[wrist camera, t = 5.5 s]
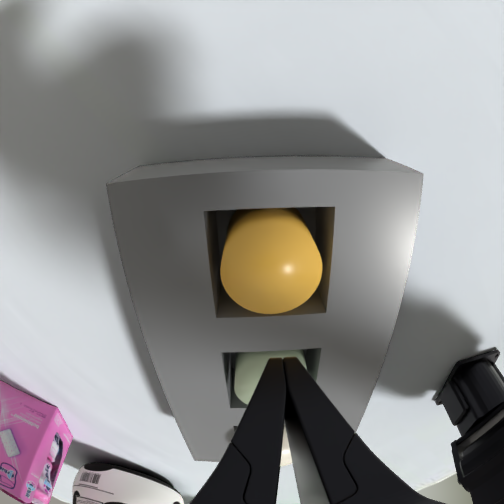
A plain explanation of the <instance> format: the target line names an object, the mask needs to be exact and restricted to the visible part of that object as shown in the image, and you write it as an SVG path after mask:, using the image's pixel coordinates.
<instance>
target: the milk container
mask: <svg viewBox="0 0 504 504" xmlns="http://www.w3.org/2000/svg"><path fill="white" fill-rule="evenodd" d="M72 492H73V504H184V502H183V498H182V496H181V494H180V493H179V492H178V491H177V490H176V489H174V488H173V487H171V486H170V485H169V484H167V483H165V482H162V481H160V480H158V479H156V478H154V477H151V476H148V475H145V474H142V473H140V472H138V471H134V470H130V469H127V468H124V467H120V466H115V465H110V464H106V463H88V464H85V465H84V466H82V467H81V468H80V470H79V471H78V473H77V475H76V477H75V479H74V482H73V491H72Z"/></svg>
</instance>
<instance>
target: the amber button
mask: <svg viewBox="0 0 504 504" xmlns="http://www.w3.org/2000/svg"><path fill="white" fill-rule="evenodd" d="M220 275H221V281H222V284H223V286H224V288H225V290H226V292H227V293H228V295H229V296H230V297H231V298H232V299H233V300H234V301H235V302H236V303H237V304H239V305H240V306H242V307H243V308H245V309H247V310H250V311H253V312H257V313H262V314H277V313H283V312H286V311H290V310H292V309H294V308H296V307H298V306H300V305H301V304H303V303H304V302H305V301H307V300H308V299H309V298H310V297H311V296H312V294H313V293H314V292H315V290H316V289H317V287H318V285H319V283H320V280H321V276H322V259H321V256H320V253H319V251H318V249H317V246H316V244H315V242H314V240H313V238H312V236H311V234H310V231H309V229H308V227H307V225H306V223H305V221H304V219H303V217H302V215H301V214H300V212H299V211H298V210H297V209H296V208H295V207H290V208H259V209H237V210H236V212H235V213H234V214H233V216H232V217H231V219H230V222H229V225H228V229H227V234H226V239H225V245H224V250H223V255H222V260H221V267H220Z"/></svg>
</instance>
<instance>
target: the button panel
mask: <svg viewBox="0 0 504 504" xmlns="http://www.w3.org/2000/svg"><path fill="white" fill-rule="evenodd" d="M422 184H423V173H421V172H419V171H416V170H414V169H412V168H409V167H407V166H404V165H402V164H400V163H397V162H395V161H392V160H389V159H387V158H374V157H352V156H258V157H235V158H219V159H205V160H192V161H181V162H171V163H162V164H153V165H145V166H138V167H136V168H134V169H133V170H131V171H129V172H127V173H125V174H123V175H121V176H119V177H118V178H116V179H114V180H112V181H110V182H109V183H107V184H106V185H107V191H108V197H109V203H110V208H111V214H112V219H113V224H114V229H115V233H116V238H117V243H118V247H119V251H120V256H121V260H122V264H123V268H124V272H125V276H126V279H127V283H128V287H129V291H130V294H131V298H132V301H133V305H134V308H135V311H136V315H137V318H138V321H139V324H140V328H141V331H142V334H143V337H144V340H145V343H146V346H147V349H148V351H149V354H150V357H151V360H152V363H153V365H154V368H155V371H156V374H157V376H158V379H159V381H160V384H161V387H162V389H163V392H164V394H165V397H166V399H167V401H168V404H169V406H170V409H171V411H172V413H173V416H174V418H175V420H176V422H177V425H178V427H179V429H180V431H181V434H182V436H183V438H184V440H185V442H186V444H187V446H188V448H189V450H190V452H191V455H192V457H193V459H194V460H195V461H212V462H220V460H221V458H222V456H223V454H224V453H225V451H226V449H227V447H228V445H229V443H231V442H230V441H231V439H232V437H233V435H234V433H235V431H236V429H237V427H238V425H239V422H240V420H241V418H242V416H243V414H244V412H245V410H246V408H247V406H248V405H247V404H245V403H244V402H242V401H241V400H240V399H239V398H238V397H237V396H236V394H235V390H234V384H235V364H236V352H262V351H283V350H299V349H303V352H304V357H305V362H306V367H307V371H308V372H309V374H310V375H311V376H312V377H313V379H314V380H315V381H316V383H317V384H318V385H319V386H320V388H321V389H322V390H323V392H324V393H325V394H326V395H327V397H328V398H329V399H330V401H331V402H332V403H333V404H334V406H335V407H336V408H337V409H338V411H339V412H340V413H341V415H342V416H343V417H344V418H345V420H346V421H347V422H348V423H349V425H350V426H351V427H352V428H353V430H354V431H355V433H356V431H357V428H358V426H359V424H360V422H361V419H362V417H363V415H364V412H365V410H366V407H367V405H368V403H369V400H370V398H371V395H372V392H373V390H374V387H375V385H376V382H377V379H378V376H379V374H380V371H381V368H382V365H383V362H384V359H385V356H386V353H387V350H388V347H389V344H390V341H391V337H392V334H393V331H394V327H395V324H396V320H397V317H398V313H399V309H400V305H401V302H402V298H403V294H404V289H405V285H406V281H407V276H408V272H409V267H410V262H411V257H412V252H413V247H414V241H415V236H416V229H417V223H418V216H419V209H420V202H421V193H422ZM290 207H295V208H296V209H297V210H298V211H299V212H300V214H301V215H302V217H303V219H304V221H305V223H306V225H307V227H308V229H309V231H310V234H311V236H312V238H313V240H314V242H315V244H316V246H317V249H318V251H319V253H320V256H321V259H322V276H321V280H320V283H319V285H318V287H317V289H316V290H315V292H314V293H313V294H312V296H311V297H310V298H309V299H308V300H307V301H305V302H304V303H303V304H301V305H300V306H298V307H296V308H294V309H292V310H290V311H286V312H283V313H277V314H262V313H257V312H253V311H250V310H247V309H245V308H243V307H242V306H240V305H239V304H237V303H236V302H235V301H234V300H233V299H232V298H231V297H230V296H229V295H228V293H227V292H226V290H225V288H224V286H223V284H222V281H221V275H220V267H221V260H222V255H223V250H224V245H225V239H226V234H227V229H228V225H229V222H230V219H231V217H232V216H233V214H234V213H235V212H236V210H237V209H259V208H290ZM284 424H285V421H284ZM355 433H354V434H355Z"/></svg>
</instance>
